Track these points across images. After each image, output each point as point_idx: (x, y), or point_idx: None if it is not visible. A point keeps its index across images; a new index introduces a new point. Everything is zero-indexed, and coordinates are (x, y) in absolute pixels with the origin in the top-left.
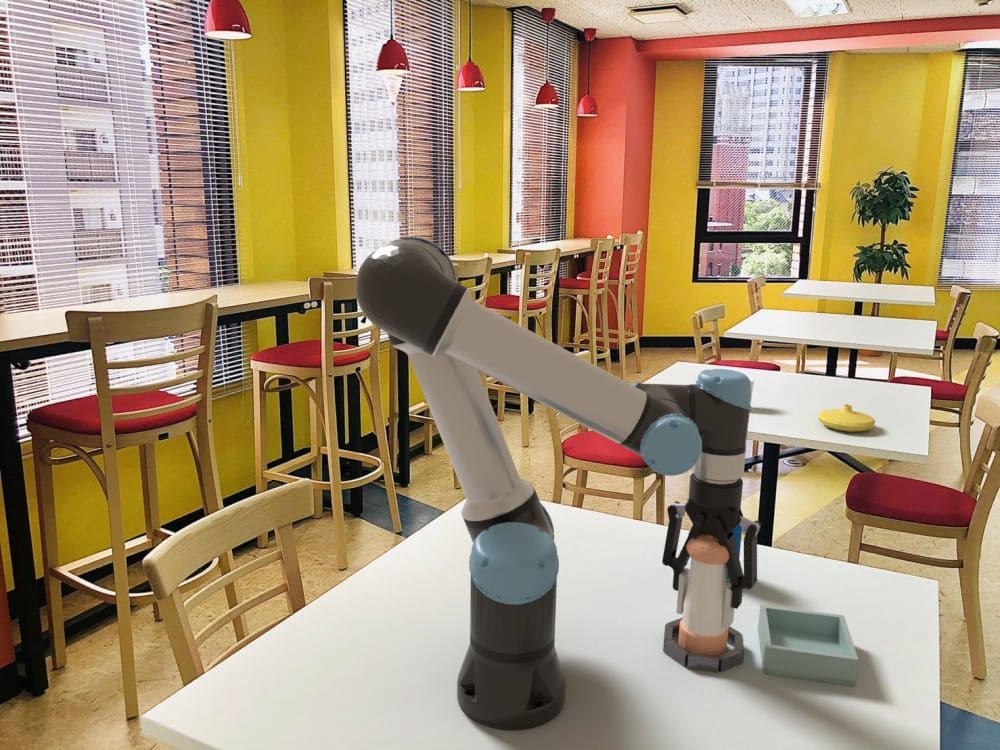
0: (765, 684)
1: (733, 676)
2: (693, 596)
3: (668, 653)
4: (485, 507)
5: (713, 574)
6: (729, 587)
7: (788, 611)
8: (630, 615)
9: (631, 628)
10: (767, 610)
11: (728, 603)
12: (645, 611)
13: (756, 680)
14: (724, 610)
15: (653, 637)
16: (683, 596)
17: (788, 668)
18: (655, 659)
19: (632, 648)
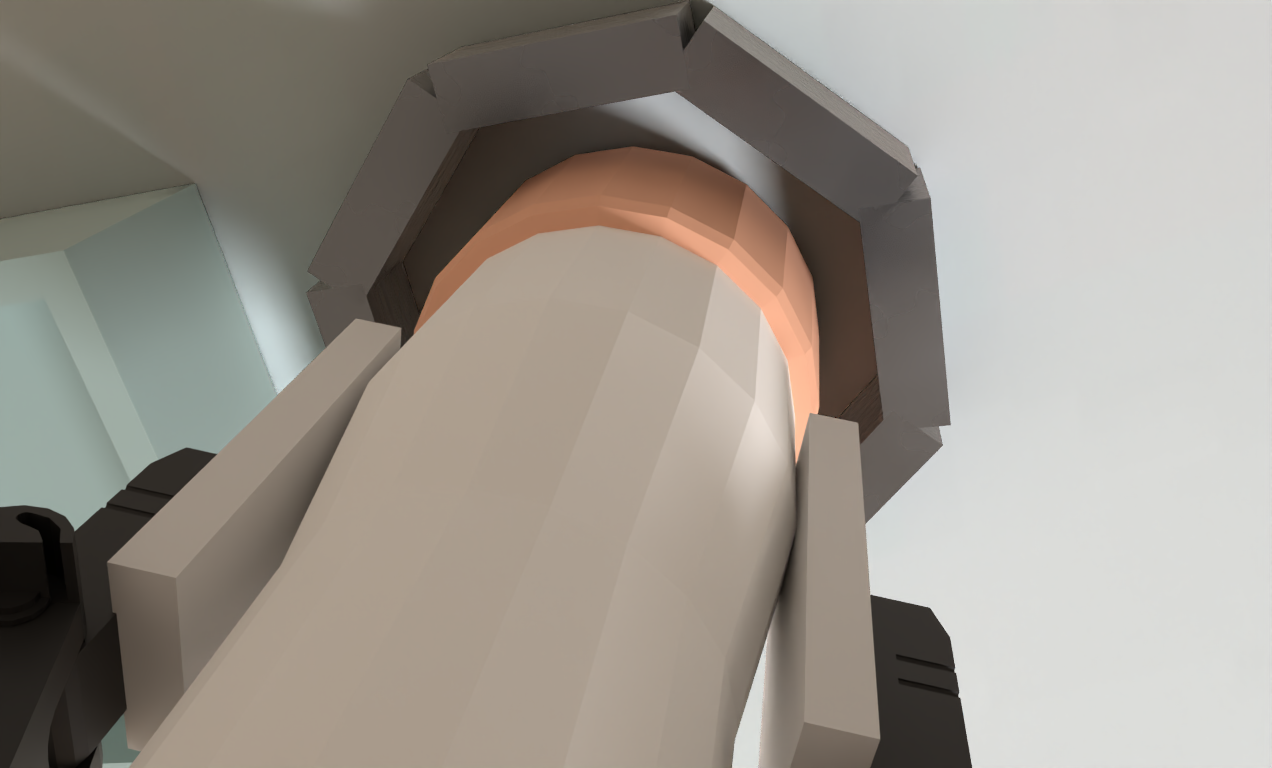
0: (138, 49)
1: (352, 49)
2: (639, 447)
3: (868, 122)
4: None
5: (239, 696)
6: (145, 608)
7: (130, 757)
8: (1238, 554)
9: (1218, 387)
10: None
11: (233, 452)
12: (1121, 634)
13: (204, 72)
14: (318, 411)
15: (1021, 328)
16: (800, 545)
17: (15, 226)
18: (965, 13)
19: (1188, 97)
